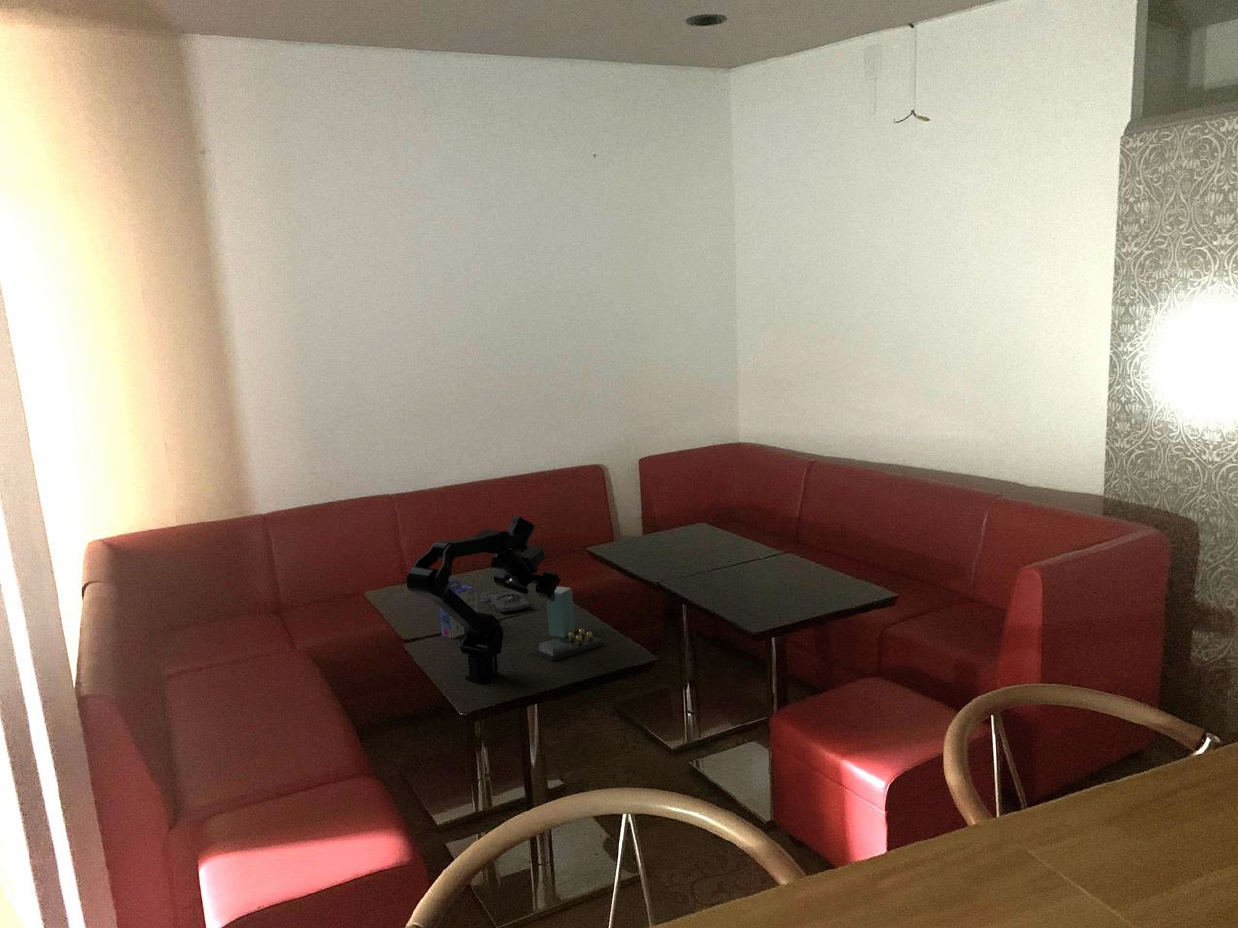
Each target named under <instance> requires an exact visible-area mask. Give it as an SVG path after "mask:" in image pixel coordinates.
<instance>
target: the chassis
mask: <svg viewBox="0 0 1238 928" xmlns="http://www.w3.org/2000/svg"><path fill="white" fill-rule="evenodd" d="M601 646H603V639H602V638H599V637H596V636H595V635H593V631H585V628H583V627H582V628H579V629H578V633H577V634H575V632H569V635H568V636H567V637H564V638H562V639H560V640H559V639H557V638H553V639H549V640H547V641H544V642H540V643H539V645H538V646H536V647H534V648H533V652H534V655H537V656H539V657H541V658H542V659H546V660H547V661H549V662H555V661H558V660H562V659H565V658H568V657H570V656H574V655H578V654H580V653H583V652H586V651H589V650H593V649H595V648H598V647H601Z"/></svg>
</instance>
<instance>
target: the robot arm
mask: <svg viewBox="0 0 1238 928" xmlns="http://www.w3.org/2000/svg"><path fill="white" fill-rule="evenodd" d="M535 529H536V527H535V525H534V523H532V522H530V521H528V520H527V519H525V518H523V517H522V516H519V515H518V516H517V515H514V516H513V518H512V520H511V523H510V525H509V527H508V528H507V530H502V529H501V530H499V529H491V528H489V529H488V528H485V529H483V530H480V531H478V532H477V533H476V534H475V535H473V536H469V537H463V538H457V539H450V540H446V541H445V540H444V541H441V540H438V541H435V542H434V543H433V544H431V546H430V548H429V549H428V551H427V552H425V553H424V554H423V555H422V556H420V557H419V558H418V559H417V560H416V561H415V562H414V564H413V565H412V567H411V569H409V572H408V573H407V575H406V587H407V589H408V590H409V591H410V592H412V593H413V594H416V595H418V596H419V597H420V596H421V597H422V598H425V599H429V600H431V601H433V603H435V604H436V605H437V606H438V607H439V606H440V607H441V608H442V609H443V610H444V611H445V612H446V613H448V614H449V615H450V616H451V617H452V618H453V619H455V620H456V621H457V622H458V623H459V624H460V625H462V626H463V627H464V634H463V635H464V637H463V639H462V641H461V643H460V645H459V649H460V652H461V654H464V655H467V665H468V675H465V677H464V678H465V680H469V681H472V682H475V683H477V684H480V685H484V684H486V683H488V682H490V681H492V680H493V681H494V680H496V679H497V678H499V677H501V676H502V673H501V672H499V669H498V657H497V655H499V654H501V653H502V647H503V640H504V628H503V626H502V625H501V623H502V621H501V620H499V619H498V620H497V618H496V617H495V616H494V615H493V614H492V613H487V612H481V611H478V612H476V611H475V610H474V609H472V608H471V607H470V606H469V605H468V604H467V603H466V602H465V601H464V600H463V599H461V598H460V597H459V596H458V595H457V594H456V593H455V592H454V591H453V590H451V589H450V587H449V582H450V577H451V575H452V573H453V562H454V561H455V559H457V558H461V557H467V556H473V555H479V554H483V553H485V554H487V553H488V554H493V557H492V558H491V562H490V568H492V569H496V571H495V573H494V575H493V582H494V583H495V584H496V585H497V586H500V587H502V588H504V589H505V588H508V589H509V590H510V591H511V590H513V591H517V592H519V593H520V594H522V595H523V594H524V595H528V594H529V589H528V588H527V587H528V586H529V585H530V584H534V585H535V593H536V594H537V595H538V596H539V597H540V598H542V599H545V600H547V599H548V600H550V601H553V602H554V600H555V592H554V591H555V590H556V588H557V586H559V584H560V582H561V581H562V579H561V577H560V576H559V574H558V573H555V572H550V571H544V572H543V573H542V575H541V574H540V575H539V574H537V572H538V571H539V570H540V569H539V567H538V566H539V565H540V564H541V563H542V562H543V561H545V560H546V554H545V550H544V548H543V547H542V546H538V545H534V544H531V545H530V544H529V542H530V539H531V538H532V536H533V533H534V531H535ZM439 560H441V561H442V562H441V563H442V564H441V566H440V567H439V568H433V567H432V566H433V565H435V563H437V562H438V561H439ZM430 567H432V568H430Z"/></svg>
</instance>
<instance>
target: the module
mask: <svg viewBox="0 0 1238 928" xmlns="http://www.w3.org/2000/svg"><path fill="white" fill-rule="evenodd" d="M554 592H555V600H554V602H553V601H550V600H548V599H546V607H547V608H546V609H547V621H548V623H547V625H548V635H549V636H553V637H559V638H567V637H569V632H574V633H575V631H576V630H575V617H574V613H575V612H574V600H573V598H574V597H573V589H572V588H571V587H566V586H559V585H558V586H557V588H556V590H555V591H554Z"/></svg>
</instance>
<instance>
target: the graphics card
mask: <svg viewBox="0 0 1238 928" xmlns="http://www.w3.org/2000/svg"><path fill="white" fill-rule="evenodd" d="M479 597H480V598H482V599H480V601H479V602H480V603H487V602H488V603H489V602H490V601H491V602H490V603H491V605H492V606H493V605H494V606H495V608H496V609H497V610H498V611H499V612H501V613H506V612H511V611H518V610H520V612H521V611H522V610H523V609H526V608H529V607H530V602H529V601H528V600H527V599H526V598H525V597H524V596H523V594H522V593H520V592H517V591H514V590H511V589H508V588H505V587H504V588H501V589H500V588H499V589H494V590H490V591H484V592H482V593H481V594H479ZM486 601H487V602H486Z"/></svg>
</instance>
